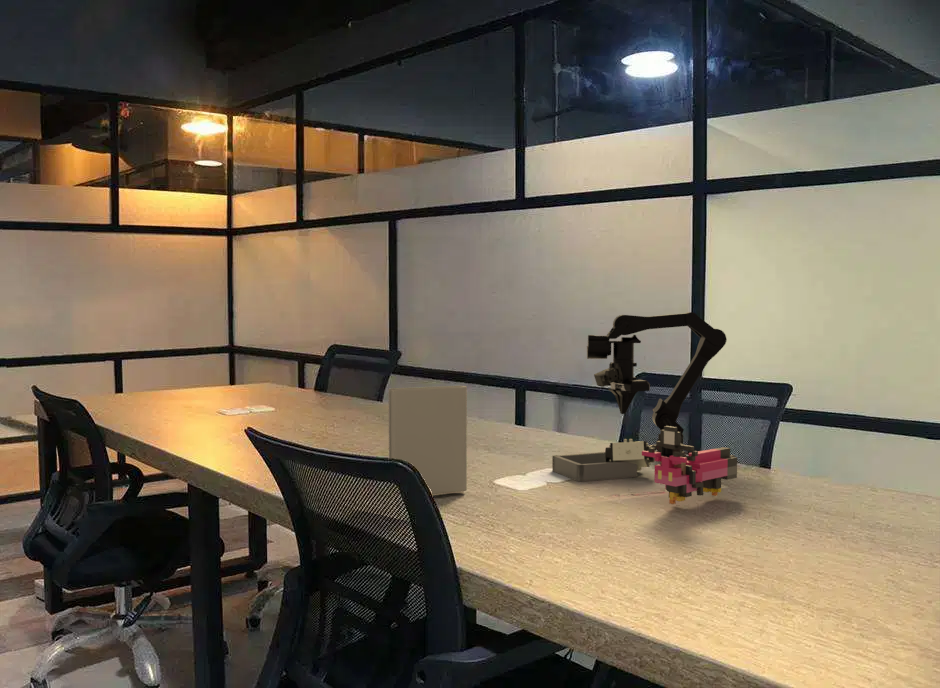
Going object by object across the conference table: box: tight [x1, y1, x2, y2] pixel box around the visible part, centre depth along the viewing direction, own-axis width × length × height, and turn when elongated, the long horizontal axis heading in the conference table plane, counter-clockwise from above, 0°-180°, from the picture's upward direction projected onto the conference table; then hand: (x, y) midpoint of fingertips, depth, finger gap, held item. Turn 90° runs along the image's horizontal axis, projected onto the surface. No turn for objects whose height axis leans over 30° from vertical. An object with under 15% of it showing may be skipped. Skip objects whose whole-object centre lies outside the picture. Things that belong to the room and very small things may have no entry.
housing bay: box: [551, 451, 638, 483], centre depth 213 cm, size 16×14×4 cm
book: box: [388, 385, 468, 496], centre depth 191 cm, size 18×4×24 cm, turn 116°
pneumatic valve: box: [604, 438, 656, 472], centre depth 212 cm, size 6×12×12 cm
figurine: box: [642, 426, 738, 505], centre depth 186 cm, size 11×25×17 cm, turn 129°
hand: (623, 414), depth 239 cm, fingers closed
